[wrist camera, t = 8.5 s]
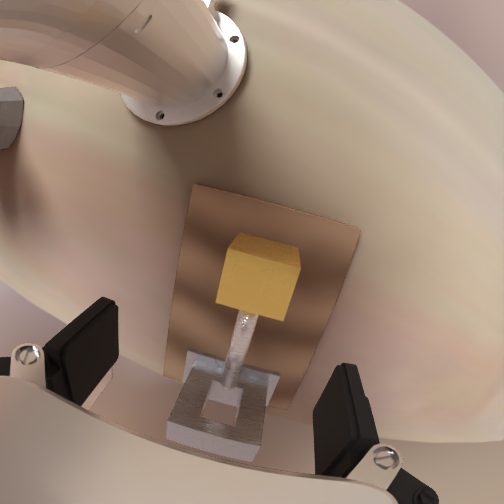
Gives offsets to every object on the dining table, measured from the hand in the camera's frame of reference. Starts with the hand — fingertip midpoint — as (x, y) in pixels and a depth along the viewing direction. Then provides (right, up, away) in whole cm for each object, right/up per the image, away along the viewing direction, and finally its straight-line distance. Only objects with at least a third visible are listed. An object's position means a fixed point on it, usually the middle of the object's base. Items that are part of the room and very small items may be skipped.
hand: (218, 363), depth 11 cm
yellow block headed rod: (+1, -1, +14) cm, 14 cm away
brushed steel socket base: (-1, -9, +19) cm, 21 cm away
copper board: (+1, -2, +18) cm, 18 cm away
